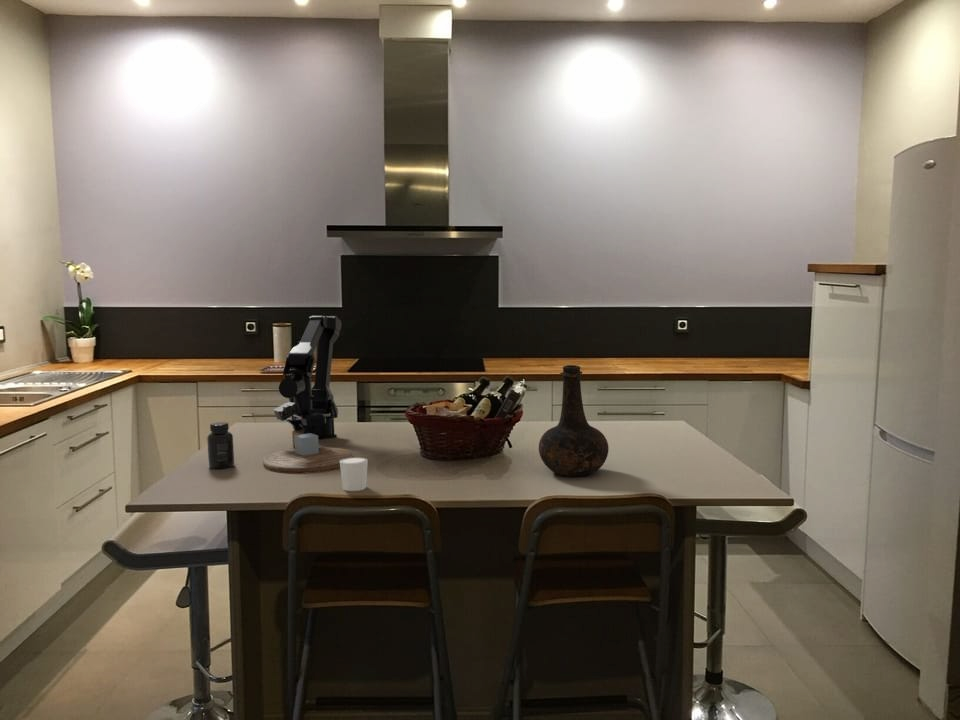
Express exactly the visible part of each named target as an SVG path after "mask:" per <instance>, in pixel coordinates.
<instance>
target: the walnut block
mask: <svg viewBox="0 0 960 720" xmlns="http://www.w3.org/2000/svg"><path fill="white" fill-rule="evenodd" d="M301 434H304V431H303V430H297V431H294V430H292V433H291V435H292V448H293V447H295V440H294V435H301Z"/></svg>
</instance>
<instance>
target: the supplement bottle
mask: <svg viewBox="0 0 960 720" xmlns="http://www.w3.org/2000/svg"><path fill="white" fill-rule="evenodd" d="M209 426H210V427H209V431H210V433H209V434H208V435H207V437H206V441H207V442H206V443H207V454H208V455H207V457H208V458H207V459H208V467H209V468H210V469H212V468H213V470H223V469H228V468H232V467H234V466H235V450H234V449H235V448H234V436H233V433H232V432H230V431H229V429H230V428H229V422H227V421H222V422H220V421H219V422H213V423H210V424H209Z"/></svg>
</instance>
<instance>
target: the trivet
mask: <svg viewBox="0 0 960 720" xmlns="http://www.w3.org/2000/svg"><path fill="white" fill-rule="evenodd" d="M354 457H355V453H354V451H351V450H349V449H344V448H338V447H325V446H324V447H323V446H321V447H320V446H319V453H316V454H310V455H304V456H302V455H300V454H297V453H295V448H293V449H285V450H281V451H277V452H274V453H271V454H268V455H266V456H265V457H264V458H263V461H262V465H264V466H263V467H264V468H265V469H266V468H268V469H267V470H269V469H270V470H269V471H272V470H273V472H277V471H278V472H277V473H288V474H289V473H290V474H303V472H308V473H318V471H320V472H326V471H333V470H337V469H340V460H342V459H346V458H354Z"/></svg>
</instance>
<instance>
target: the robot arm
mask: <svg viewBox="0 0 960 720" xmlns="http://www.w3.org/2000/svg"><path fill="white" fill-rule="evenodd" d="M341 330H342V320H341V319H339V317H338V316H337V315H311V316H309V317H308V324H307V326H306V327H305V330H304V332H303V335H302V337H301V339H300V340H299V341H300V342H299V343H298V344H297V345H295V346H293V347H292V349H291V350H290V352H288V355H287V356H286V359H285V363H284V369H283V372H282V376H284V379H282V380H281V381H280V383H279V386H278V392H279V394H280V395H281V396H282V397H284V398H286V399H288V402H284V403H283V404H281V405H280V406H277V407H275V408H274V409H273V412H274V414H275V418H276V419H277V420H279V421H281V422H284V421H286V422H287V423H289V424H290V425H291V426H292V428H293V431H297V430H303V431H304V434H307V433H312V434H315V435H317V436H318V440H321V439H327V438H333V436H334V437H337V436H338V435H337V434H336V433H335V419H337V418H339V417H338V415H339V409H338V407H337V405H336V402H335V401H334V394H333V393H332V391H331V388H330V384H331V371H332V359H333V350H334V344H335V342H336V341H337V340H338V338H339V337H340V332H341ZM316 348H317V353H316V357H315V353H314V352H315V351H316ZM314 367H315V372H314V373H315V374H314V384H313V387H312V376H313V370H314Z"/></svg>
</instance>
